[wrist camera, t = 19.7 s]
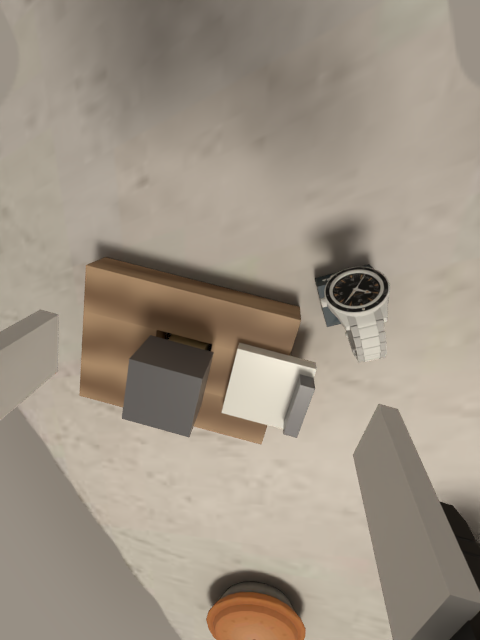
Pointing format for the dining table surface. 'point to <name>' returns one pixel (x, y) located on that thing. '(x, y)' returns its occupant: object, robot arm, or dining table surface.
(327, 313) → the watch
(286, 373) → the plate
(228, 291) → the socket board
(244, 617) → the pie
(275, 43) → the dining table surface
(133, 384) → the plug
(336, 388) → the dining table surface
